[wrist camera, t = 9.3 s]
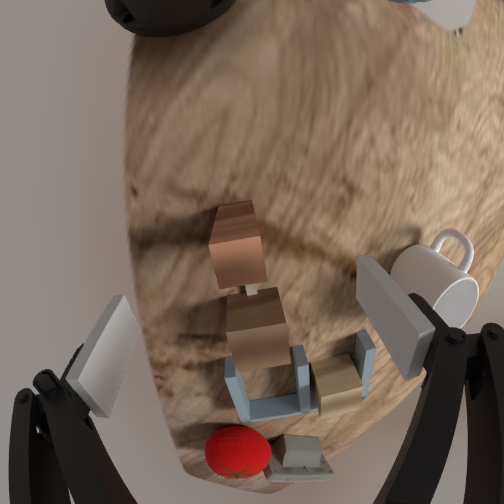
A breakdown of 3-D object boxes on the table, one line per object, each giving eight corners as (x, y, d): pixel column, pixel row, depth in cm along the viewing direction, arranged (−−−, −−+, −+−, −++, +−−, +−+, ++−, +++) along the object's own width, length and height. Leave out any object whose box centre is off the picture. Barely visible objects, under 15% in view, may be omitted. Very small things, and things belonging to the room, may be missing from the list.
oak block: (310, 361, 38) (321, 397, 32) (348, 352, 38) (363, 386, 32) (311, 385, 41) (320, 418, 34) (346, 377, 41) (358, 408, 34)
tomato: (215, 412, 43) (214, 462, 33) (277, 423, 45) (284, 469, 35) (199, 437, 47) (196, 480, 37) (254, 447, 49) (257, 487, 39)
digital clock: (251, 444, 48) (253, 485, 39) (277, 426, 46) (284, 472, 36) (305, 454, 53) (312, 490, 43) (332, 438, 50) (343, 476, 40)
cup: (377, 291, 34) (414, 338, 25) (414, 207, 30) (467, 236, 20) (418, 300, 35) (454, 341, 26) (452, 227, 31) (501, 256, 22)
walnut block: (206, 208, 29) (190, 248, 19) (263, 198, 29) (278, 232, 19) (236, 333, 35) (238, 399, 25) (282, 325, 35) (296, 390, 25)
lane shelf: (224, 357, 37) (224, 378, 33) (365, 330, 37) (376, 347, 33) (241, 404, 42) (241, 423, 38) (359, 381, 41) (366, 397, 38)
